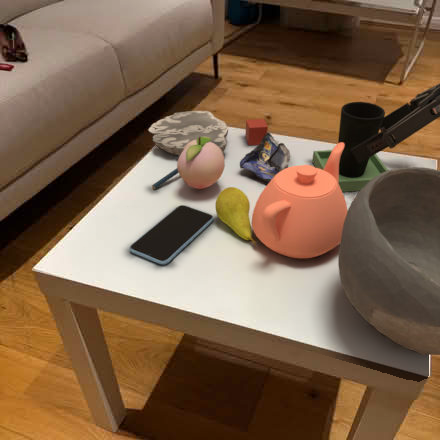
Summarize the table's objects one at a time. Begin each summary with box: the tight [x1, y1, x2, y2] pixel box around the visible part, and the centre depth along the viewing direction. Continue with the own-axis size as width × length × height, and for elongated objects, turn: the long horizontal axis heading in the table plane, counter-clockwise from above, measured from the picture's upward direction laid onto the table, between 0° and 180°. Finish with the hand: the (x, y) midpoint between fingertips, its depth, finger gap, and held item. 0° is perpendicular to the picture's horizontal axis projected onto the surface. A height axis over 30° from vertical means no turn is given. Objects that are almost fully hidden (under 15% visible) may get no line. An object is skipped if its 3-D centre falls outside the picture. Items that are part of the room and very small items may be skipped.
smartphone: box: [129, 204, 214, 265], centre depth 77 cm, size 7×1×15 cm
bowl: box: [337, 166, 440, 356], centre depth 59 cm, size 24×24×15 cm
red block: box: [245, 118, 269, 146], centre depth 101 cm, size 4×4×4 cm
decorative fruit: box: [176, 136, 226, 190], centre depth 84 cm, size 9×8×10 cm
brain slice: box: [147, 110, 229, 157], centre depth 100 cm, size 20×17×3 cm
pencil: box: [151, 167, 179, 190], centre depth 90 cm, size 1×1×15 cm
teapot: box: [251, 142, 348, 259], centre depth 73 cm, size 22×15×12 cm
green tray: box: [311, 149, 390, 193], centre depth 91 cm, size 12×12×2 cm
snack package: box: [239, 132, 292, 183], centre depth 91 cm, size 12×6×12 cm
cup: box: [337, 101, 386, 178], centre depth 87 cm, size 8×8×12 cm
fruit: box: [215, 186, 258, 245], centre depth 77 cm, size 6×6×12 cm
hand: (368, 141), depth 86 cm, fingers open, 13 cm apart
